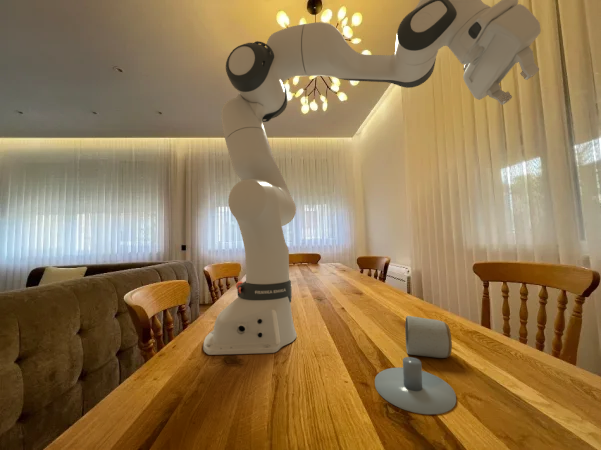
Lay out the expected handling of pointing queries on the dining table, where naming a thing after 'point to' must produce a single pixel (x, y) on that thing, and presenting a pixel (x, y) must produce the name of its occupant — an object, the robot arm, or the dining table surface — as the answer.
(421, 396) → the lid
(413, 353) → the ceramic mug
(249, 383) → the dining table surface
